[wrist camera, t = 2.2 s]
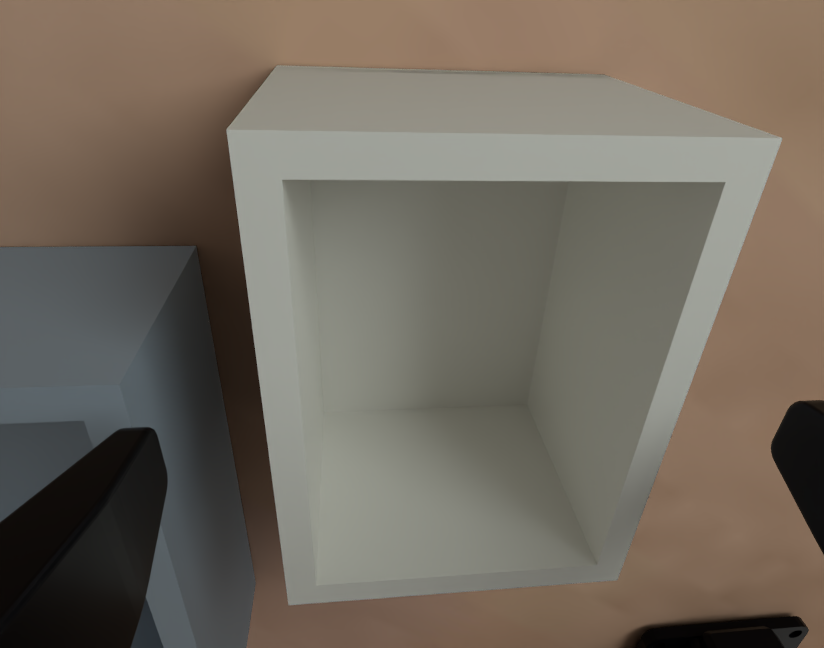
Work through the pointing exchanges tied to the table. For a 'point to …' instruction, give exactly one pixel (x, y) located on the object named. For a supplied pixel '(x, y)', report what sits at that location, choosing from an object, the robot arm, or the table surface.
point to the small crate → (477, 314)
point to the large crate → (129, 415)
